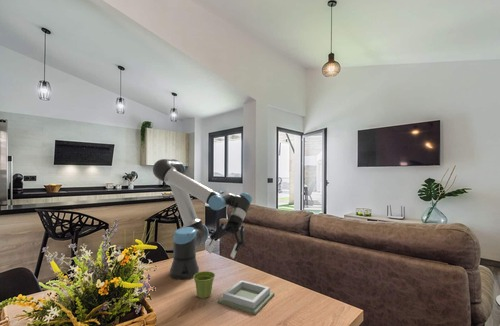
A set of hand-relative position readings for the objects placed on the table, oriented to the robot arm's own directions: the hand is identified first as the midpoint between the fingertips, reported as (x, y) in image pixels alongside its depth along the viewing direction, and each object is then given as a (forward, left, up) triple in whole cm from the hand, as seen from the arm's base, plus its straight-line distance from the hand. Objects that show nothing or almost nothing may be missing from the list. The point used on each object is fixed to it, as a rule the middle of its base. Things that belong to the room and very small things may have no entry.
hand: (220, 254), depth 125 cm
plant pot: (0, -12, -15) cm, 19 cm away
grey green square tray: (+18, -5, -14) cm, 23 cm away
